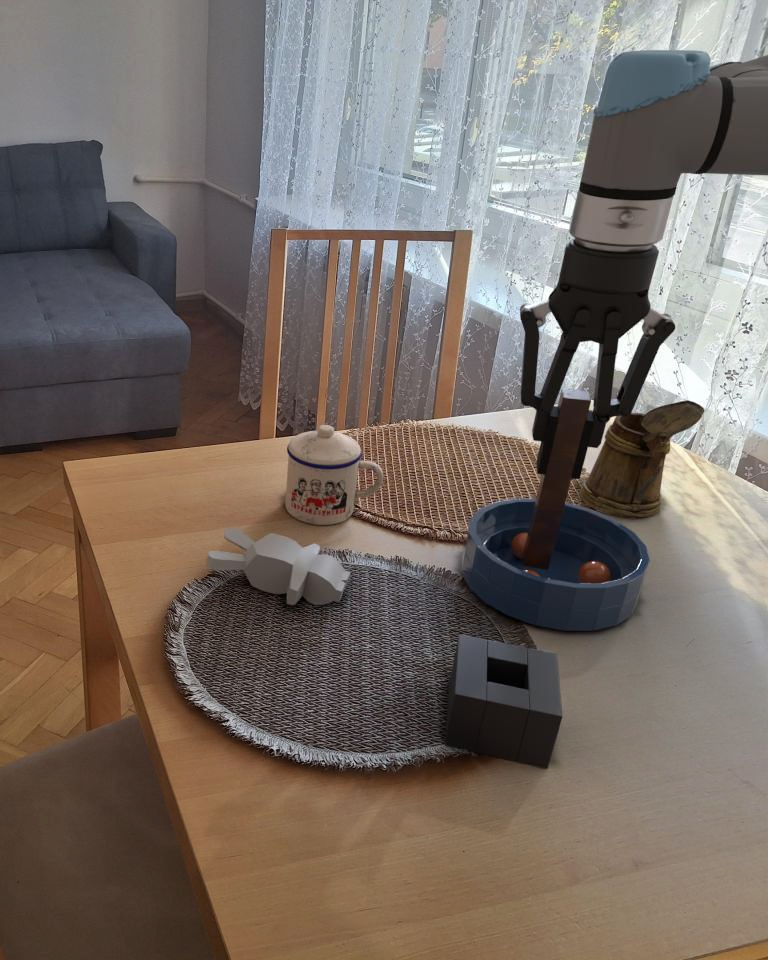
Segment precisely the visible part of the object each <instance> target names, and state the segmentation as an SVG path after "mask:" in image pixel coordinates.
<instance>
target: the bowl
mask: <svg viewBox="0 0 768 960" xmlns="http://www.w3.org/2000/svg"><path fill="white" fill-rule="evenodd" d="M535 500H536V497H535V498H532V497H531V498H510V499H504V500H499V501H494V502H492V503H489V504H487V505H485V506H483V507H481V508H479V509H477V511H476V512H475V513H474V514H473V515H472V517H471V518H470V519H469V521H468V527H467V531H466V537H465V542H464V548H463V552H462V559H461V575H462V578H463V579H464V581H465V583H466V586H467V587H468V588H469V589H470V590H471V591H472V592H473V593H474V594H475V595H476V596H477V597H478V598H479V599H480V600H481V601H482V602H484V603H485V604H487V605H488V606H490V607H492V608H493V609H495V610H497V611H499V612H501V613H502V614H504V615H506V616H508V617H511V618H513V619H516V620H519V621H521V622H524V623H527V624H530V625H533V626H538V627H543V628H547V629H554V630H559V631H565V632H566V631H571V632H573V631H576V632H578V631H581V632H583V631H585V632H586V631H587V632H588V631H589V632H592V631H598V630H602V629H608V628H612V627H615V626H618V625H619V624H621V623H622V622H624V621H626V620H627V619H628V618H630V617H631V616H632V615H633V612H634V611H635V608H636V606H637V604H638V601H639V598H640V594H641V593H642V588H643V586H644V582H645V580H646V576H647V572H648V569H649V566H650V563H651V559H650V555H649V552H648V548H647V545H646V544H645V543H644V541H642V540H641V538H640V537H639V536H638V535H637V534H636V533H635V532H634V531H633V530H632V529H630V528H628V527H627V526H625V525H623V524H622V523H621V522H620V521H618V520H616V519H614V518H612V517H610V516H608V515H606V514H604V513H602V512H600V511H597V510H595V509H591V508H588V507H584V506H581V505H577V504H574V503H570V502H567V501H566V502H565V506H564V510H563V514H562V518H561V522H560V526H559V530H558V534H557V538H556V542H555V545H554V549H553V553H552V557H551V561H550V565H549V569H548V570H545V569H539V568H533V567H527V566H524V565H523V560H521V559H519V558H517V557H516V556H515V555H514V554H513V553H512V551H511V541H512V539H513V538H514V537H515V536H516V535H517V534H519V533H523V532H528V530H529V526H530V522H531V518H532V513H533V509H534V505H535ZM589 561H598V562H601V563H603V564H605V565H606V566H607V567H608V568H609V570H610V572H611V581H610V582H605V583H580V582H579V580H578V571H579V569H580V567H581V566H582V565H583V564H585V563H586V562H589ZM521 570H533V571H535V572H537V573H538V574H539V575H540V576H541V577H540V576H537V575H534V574H530V573H527V572H524V571H521Z"/></svg>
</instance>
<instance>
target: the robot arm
mask: <svg viewBox="0 0 768 960" xmlns="http://www.w3.org/2000/svg"><path fill="white" fill-rule="evenodd" d="M592 118H593V119H592V124H591V129H590V133H589V138H588V144H587V149H586V153H585V157H584V158H585V159H584V163H583V167H582V173H581V178H580V183H579V187H578V190H577V193H576V199H575V203H574V208H573V210H572V211H573V212H572V216H571V221H570V224H569V230H568V232H569V234H570V235H571V237H573V238H571V239H570V240H569V241H568V242H567V243H566V244H565V249H564V254H563V258H562V263H561V267H560V271H559V276H558V280H557V284H556V287H555V288H554V289H553V290H552V291H551V293H550V294H549V296H548V298H547V299H546V300H543V301H540V302H536V303H534V304H531V303H527V302H526V303H523V304H522V305H521V306H520V308H519V317H520V319H519V320H520V321H521V324H522V328H523V331H524V339H523V340H524V341H523V352H522V353H523V354H522V367H521V379H520V402H521V405H522V406H524V407H530V408H533V409H534V410H535V415H534V420H533V424H532V429H531V434H532V435H531V436H532V439H533V441H535V442H540V445H539V449H538V453H537V457H536V473H537V475H542V474H543V475H545V474H546V470H547V465H548V461H549V457H550V453H551V448H552V444H553V440H554V436H555V432H556V427H557V423H558V419H559V416H558V409H557V406H558V405H557V406H556V405H555V404H556V401H557V400H558V397H559V395H560V393H561V389H562V386H563V384H564V381H565V378H566V376H567V373H568V371H569V369H570V366H571V363H572V361H573V358H574V355H575V353H576V352H577V350H578V348H579V345H580V343H584V342H585V343H586V342H593V343H596V344H598V353H597V354H598V355H597V364H596V365H597V366H596V375H595V384H594V394H593V404H592V405H593V406H592V407H593V409H589V411H588V415H587V419H586V422H585V426H584V430H583V434H582V438H581V442H580V446H579V450H578V454H577V458H576V461H575V465H574V469H573V473H572V477H571V479H574V480H581V476H582V472H583V468H584V464H585V460H586V457H587V452H588V448H593V449H598V448H599V447H600V445H602V440H603V437H604V434H605V429H606V426H607V424H608V422H610V420H611V418H615V417H616V416H622V417H626V416H629V415H630V414H631V413H633V411H634V408H635V405H636V403H637V400H638V398H639V396H640V394H641V391H642V389H643V386H644V384H645V382H646V380H647V377H648V376H649V373H650V370H651V368H652V365H653V364H654V361H655V358H656V357H657V353H658V352H659V349H660V347H661V345H662V344H663V343H665V342H666V340H667V339H668V338H669V337H670V336H671V335H672V334H673V333H674V332H675V330H676V324H675V322H674V320H673V319H672V316H671V315H670V314H668V313H660V312H659V311H657V310H655V309H653V308H651V307H652V306H651V301H650V299H649V291H650V287H651V283H652V281H653V276H654V272H655V269H656V265H657V261H658V258H659V254H660V251H659V249H658V246H656V244H658V243H660V242H661V241H662V240H663V239H664V235H665V231H666V228H667V223H668V220H669V215H670V212H671V209H672V208H671V207H672V205H673V200H674V196H675V195H676V191H677V188H678V183H679V181H680V178H681V175H683V174H690V175H703V174H706V175H707V174H709V175H710V174H711V175H712V174H713V175H738V176H739V175H740V176H741V175H745V176H768V54H766V55H763V56H759V57H756V58H753V59H751V60H747V61H743V62H742V61H727V62H723V63H718V64H714V65H711V56H710V54H709V53H708V52H707V51H702V50H689V49H687V50H685V49H674V50H673V49H644V50H643V49H642V50H629V51H625V52H621V53H618V54H617V55H616V56H614V58H612V59H611V61H610V62H609V63H608V65H607V68H606V71H605V74H604V78H603V81H602V84H601V88H600V92H599V96H598V99H597V103H596V106H595V108H594V109H593V117H592ZM550 313H551V314H552V316H553V317H554V319H555V321H556V323H557V325H558V326H559V328H560V330H561V332H562V333H561V335H560V339H559V343H558V345H557V348H556V350H555V354H554V355H553V359H552V362H551V364H550V367H549V369H548V372H547V374H546V377H545V380H544V382H543V386H542V388H541V391H537V390H536V384H537V374H538V360H539V347H540V328H541V327H543V326H544V325H545V324H546V322H547V316H548V315H549V314H550ZM642 320H643V323H642V325H641V330H642V333H643V334H641V335H642V336H641V337H640V339H639V342H638V344H637V346H636V349H635V351H634V354H633V356H632V358H631V361H630V363H629V365H628V369H627V371H626V373H625V375H624V378H623V380H622V382H621V386H620V387H619V390H618V393H617V395H616V397H615V398H614V399H612V396H613V395H612V394H613V385H614V379H615V378H614V377H615V368H616V361H617V360H616V359H617V354H618V349H619V348H618V347H619V340H620V339H621V338H622V337H623V336H624V335H626V334H627V333H628V332H629V331H630V330H632V329H633V328H635V326H637V325H638V324H639V323H640V322H641V321H642Z"/></svg>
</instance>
